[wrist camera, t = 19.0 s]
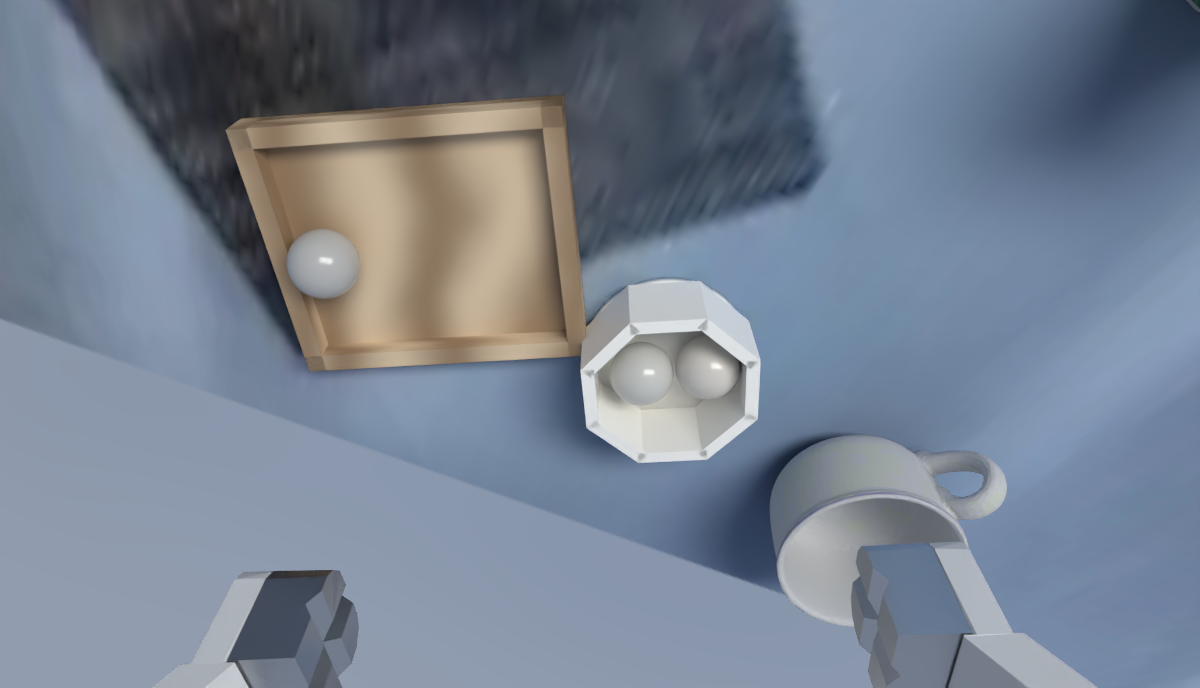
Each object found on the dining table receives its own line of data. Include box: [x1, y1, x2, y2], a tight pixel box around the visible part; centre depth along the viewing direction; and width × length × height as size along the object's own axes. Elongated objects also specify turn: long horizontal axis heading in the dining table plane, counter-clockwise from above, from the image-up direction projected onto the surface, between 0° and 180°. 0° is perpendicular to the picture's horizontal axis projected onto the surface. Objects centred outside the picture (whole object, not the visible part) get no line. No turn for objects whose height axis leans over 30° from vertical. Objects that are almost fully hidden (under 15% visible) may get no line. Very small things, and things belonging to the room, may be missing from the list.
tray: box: [226, 95, 587, 371], centre depth 40 cm, size 16×14×2 cm
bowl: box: [580, 278, 760, 463], centre depth 42 cm, size 9×9×5 cm
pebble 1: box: [286, 229, 361, 299], centre depth 39 cm, size 4×4×4 cm
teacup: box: [770, 435, 1007, 627], centre depth 46 cm, size 14×11×8 cm
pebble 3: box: [675, 335, 740, 400], centre depth 42 cm, size 4×4×4 cm
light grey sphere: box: [610, 342, 674, 406], centre depth 42 cm, size 4×4×4 cm
